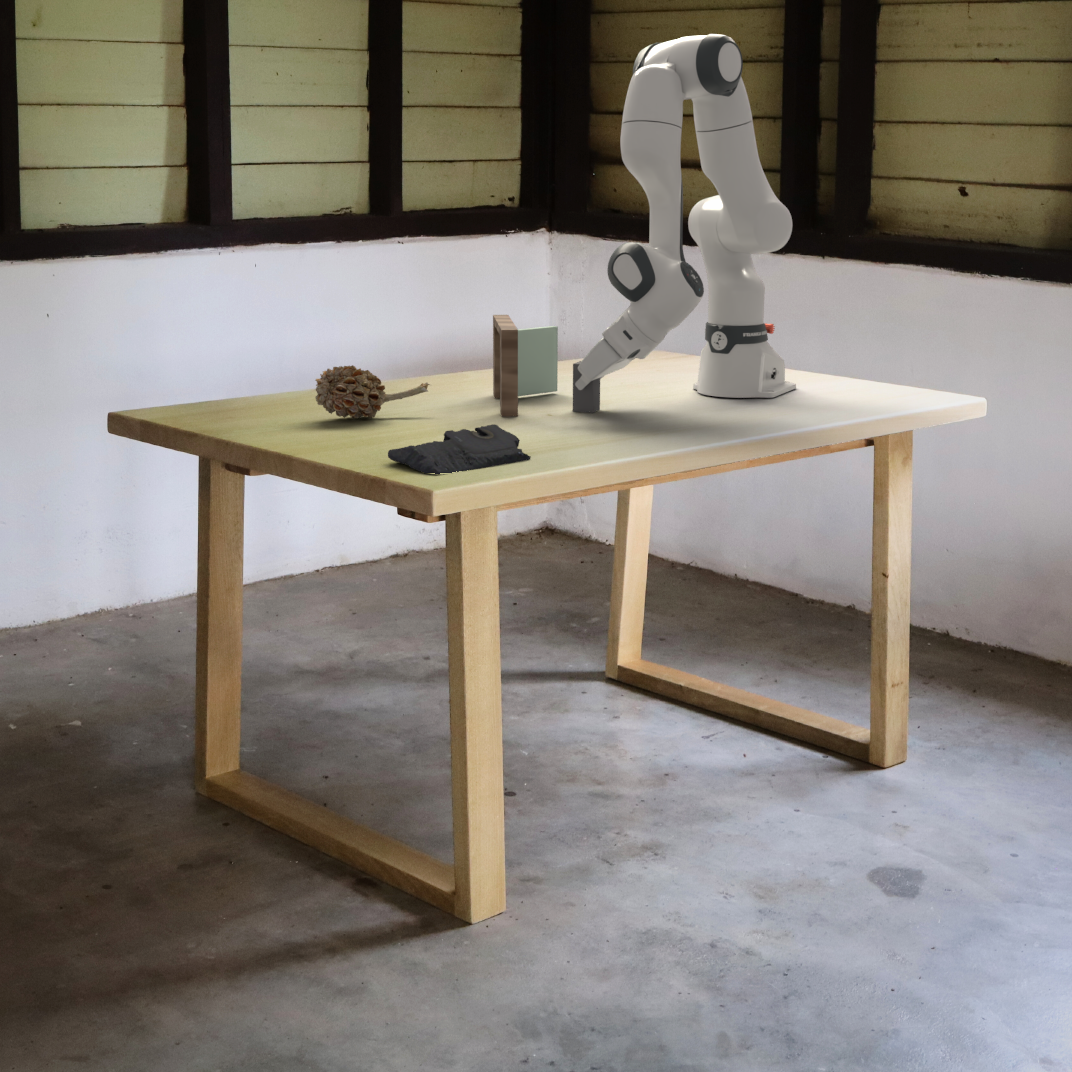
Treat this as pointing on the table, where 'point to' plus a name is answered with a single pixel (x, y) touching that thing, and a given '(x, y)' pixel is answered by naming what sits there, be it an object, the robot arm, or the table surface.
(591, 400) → the gray rectangular block
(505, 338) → the door frame
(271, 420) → the table surface
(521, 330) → the door
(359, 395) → the dried seed pod
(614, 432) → the table surface
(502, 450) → the dark slate chunk
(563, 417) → the table surface
